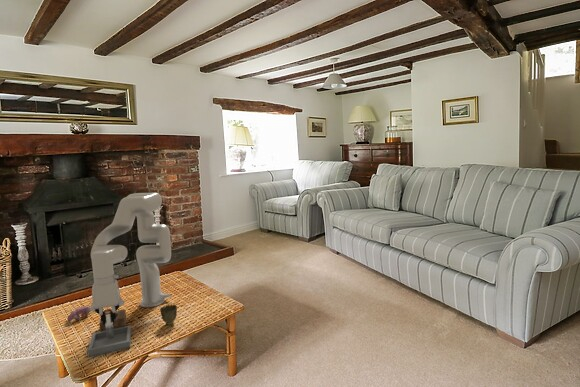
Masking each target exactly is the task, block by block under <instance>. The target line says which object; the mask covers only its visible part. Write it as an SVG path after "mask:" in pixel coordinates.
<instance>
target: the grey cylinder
mask: <svg viewBox="0 0 580 387" xmlns="http://www.w3.org/2000/svg"><path fill="white" fill-rule="evenodd" d="M103 311H104V316H105V326H106V335H107V339H112V338H114V329H113V322H112V316H111V313H112V308H106V309H103Z"/></svg>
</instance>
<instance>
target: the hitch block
mask: <svg viewBox="0 0 580 387" xmlns="http://www.w3.org/2000/svg"><path fill="white" fill-rule="evenodd" d="M98 322H99V332H101V331H106V326H105V324H103V322H101V318H99V321H98ZM127 323H128V322H127V313H126V309H125V308H124V309H121V310H119V309H118V310H117V311H116V319H115V320H114V322H113V329H116V328H120V327H125V326H127Z"/></svg>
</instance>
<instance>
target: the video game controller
mask: <svg viewBox="0 0 580 387" xmlns="http://www.w3.org/2000/svg"><path fill="white" fill-rule="evenodd" d="M90 307H91V306H88V305H85V306H81V307H77V308H76V309H75V310H72V311H71V312H70V314H69V315H68V316H67V317H66V318H67V321H68V322H72V321H73V320H75V321H78V320H80V318H85V317H87V315H88V314H90V312H91V311H90V310H89V309H90Z"/></svg>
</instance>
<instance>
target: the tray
mask: <svg viewBox="0 0 580 387" xmlns="http://www.w3.org/2000/svg"><path fill="white" fill-rule="evenodd" d="M131 338H132V326H131V325H126V326H125V327H120V328H116V329H114V338H112V339H107V335H106V331H101V332H100V331H99V332H98V331H97V332H93V333H92V335H91V338H90V342H89V345H88V349H87V356H88V358H92V357H98V356H102V355H107V354H110V353H111V354H112V353H115V352H120V351H124V350H128V349H131V342H132V339H131Z"/></svg>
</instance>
